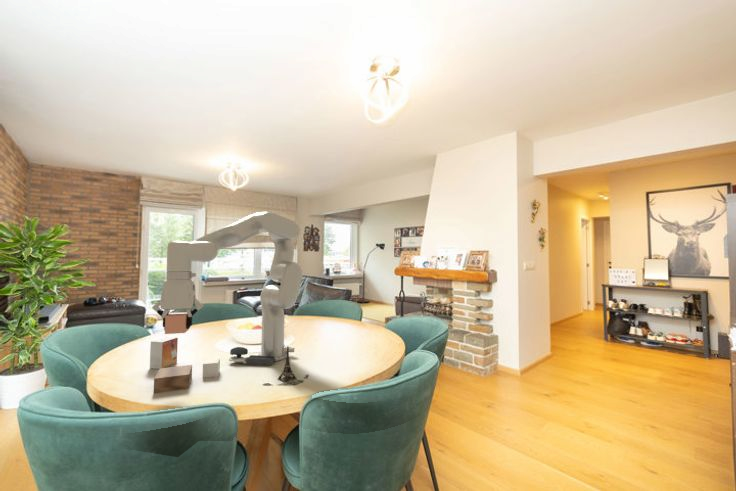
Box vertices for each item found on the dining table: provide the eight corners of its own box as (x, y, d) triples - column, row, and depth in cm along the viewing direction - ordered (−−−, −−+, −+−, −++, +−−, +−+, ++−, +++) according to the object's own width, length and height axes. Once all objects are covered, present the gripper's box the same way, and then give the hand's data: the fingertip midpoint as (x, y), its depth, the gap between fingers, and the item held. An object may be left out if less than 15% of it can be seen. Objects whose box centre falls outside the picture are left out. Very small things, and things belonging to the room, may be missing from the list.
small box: (161, 369, 125) (162, 342, 125) (149, 368, 126) (150, 341, 126) (177, 362, 133) (178, 337, 133) (165, 361, 134) (166, 336, 134)
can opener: (226, 365, 131) (226, 349, 131) (232, 361, 136) (232, 345, 136) (271, 366, 130) (271, 351, 130) (276, 362, 135) (276, 347, 135)
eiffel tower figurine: (261, 387, 111) (262, 348, 111) (269, 376, 121) (269, 340, 121) (305, 387, 112) (305, 348, 112) (309, 375, 122) (309, 340, 122)
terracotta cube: (189, 329, 115) (189, 312, 115) (184, 333, 109) (185, 315, 110) (170, 329, 113) (170, 312, 114) (164, 334, 108) (165, 316, 108)
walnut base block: (191, 378, 117) (192, 364, 117) (188, 389, 108) (189, 374, 108) (159, 382, 113) (159, 368, 113) (153, 394, 104) (154, 378, 104)
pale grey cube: (219, 371, 124) (219, 358, 124) (217, 376, 119) (217, 362, 119) (205, 372, 122) (205, 359, 122) (202, 377, 117) (202, 364, 118)
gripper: (208, 275, 118) (207, 325, 118) (154, 275, 113) (152, 327, 113) (204, 277, 111) (202, 329, 110) (146, 277, 106) (144, 332, 106)
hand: (177, 328), depth 112 cm, fingers closed on terracotta cube, 6 cm apart
